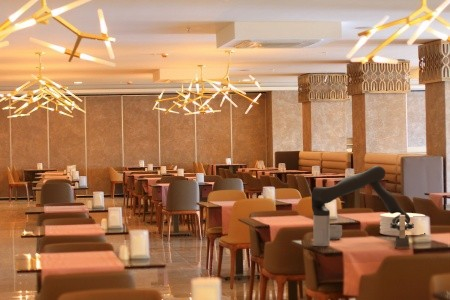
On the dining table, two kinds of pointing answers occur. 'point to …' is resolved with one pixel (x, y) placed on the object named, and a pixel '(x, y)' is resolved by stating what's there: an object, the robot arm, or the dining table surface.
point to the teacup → (335, 231)
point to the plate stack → (387, 219)
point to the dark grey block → (402, 243)
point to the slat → (402, 226)
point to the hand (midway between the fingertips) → (402, 227)
